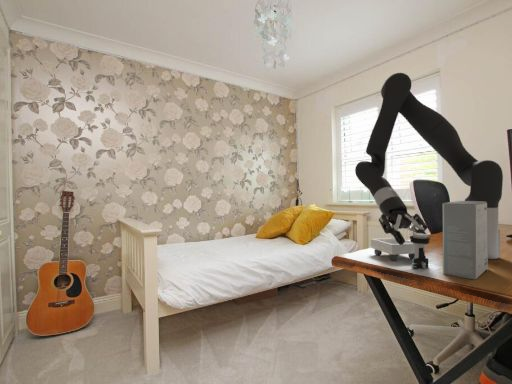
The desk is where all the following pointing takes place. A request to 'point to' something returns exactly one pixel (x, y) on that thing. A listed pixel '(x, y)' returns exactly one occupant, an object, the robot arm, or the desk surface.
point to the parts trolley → (392, 247)
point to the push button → (419, 250)
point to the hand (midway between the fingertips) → (414, 242)
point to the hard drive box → (465, 238)
